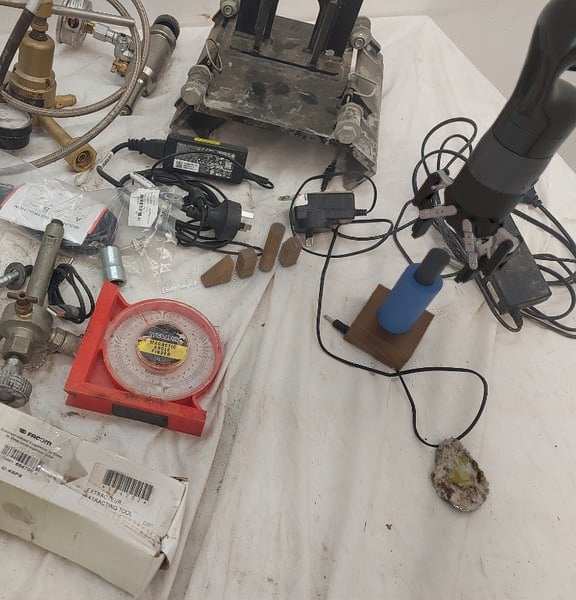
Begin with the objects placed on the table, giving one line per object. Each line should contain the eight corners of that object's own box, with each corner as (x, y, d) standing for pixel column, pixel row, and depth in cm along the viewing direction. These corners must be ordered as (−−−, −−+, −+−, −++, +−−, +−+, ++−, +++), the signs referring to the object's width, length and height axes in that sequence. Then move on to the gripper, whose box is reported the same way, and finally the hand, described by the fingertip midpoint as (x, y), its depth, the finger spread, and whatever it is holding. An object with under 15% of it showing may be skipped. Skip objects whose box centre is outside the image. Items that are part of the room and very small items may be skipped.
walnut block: (422, 331, 97) (435, 315, 93) (398, 372, 92) (411, 357, 88) (368, 300, 100) (379, 283, 96) (342, 338, 95) (352, 322, 91)
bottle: (419, 325, 92) (468, 263, 78) (392, 339, 90) (438, 278, 77) (395, 299, 94) (440, 235, 81) (369, 312, 92) (410, 248, 79)
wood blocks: (289, 254, 104) (304, 215, 96) (295, 265, 103) (311, 226, 95) (159, 287, 98) (163, 249, 90) (164, 299, 97) (168, 261, 88)
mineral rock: (507, 511, 78) (459, 504, 76) (483, 519, 82) (437, 513, 80) (482, 436, 85) (438, 428, 83) (461, 447, 88) (418, 439, 86)
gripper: (435, 139, 68) (384, 230, 81) (527, 220, 61) (455, 306, 75) (479, 122, 71) (423, 214, 84) (573, 199, 64) (495, 285, 77)
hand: (438, 257), depth 79 cm, fingers open, 8 cm apart
